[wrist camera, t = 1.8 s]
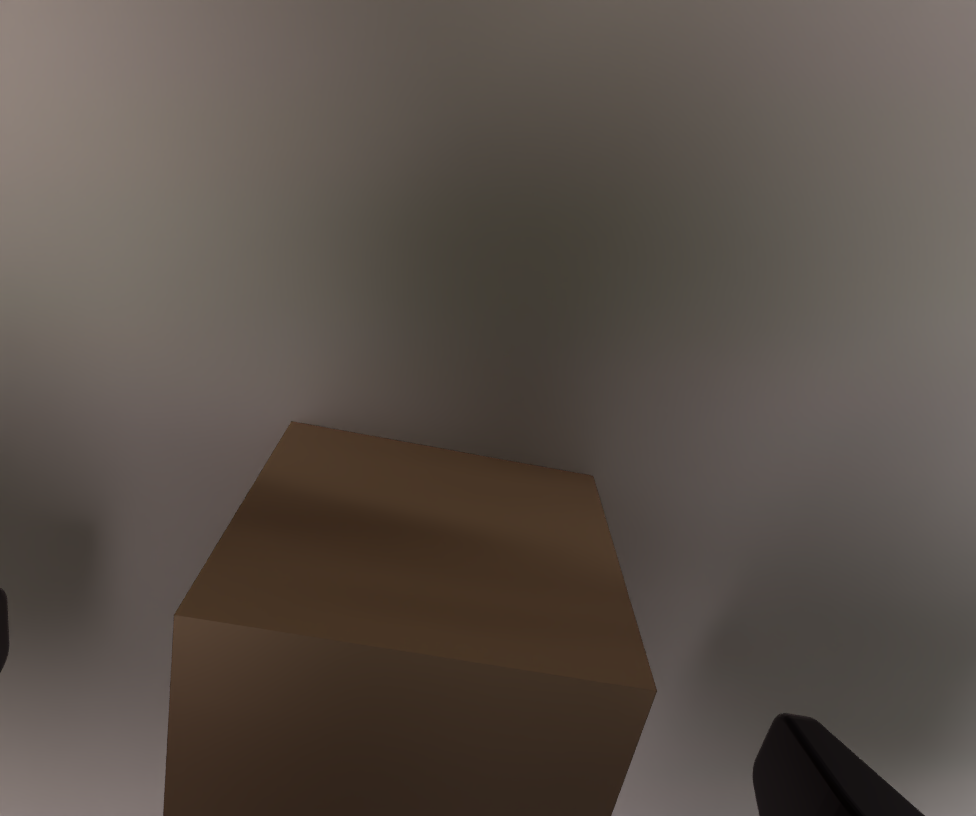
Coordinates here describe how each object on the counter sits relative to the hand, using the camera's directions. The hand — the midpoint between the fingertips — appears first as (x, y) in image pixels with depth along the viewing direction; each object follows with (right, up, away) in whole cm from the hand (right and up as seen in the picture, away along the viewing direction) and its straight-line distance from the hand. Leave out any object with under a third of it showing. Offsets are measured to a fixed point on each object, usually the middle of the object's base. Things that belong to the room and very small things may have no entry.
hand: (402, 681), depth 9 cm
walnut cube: (0, +1, +2) cm, 2 cm away
